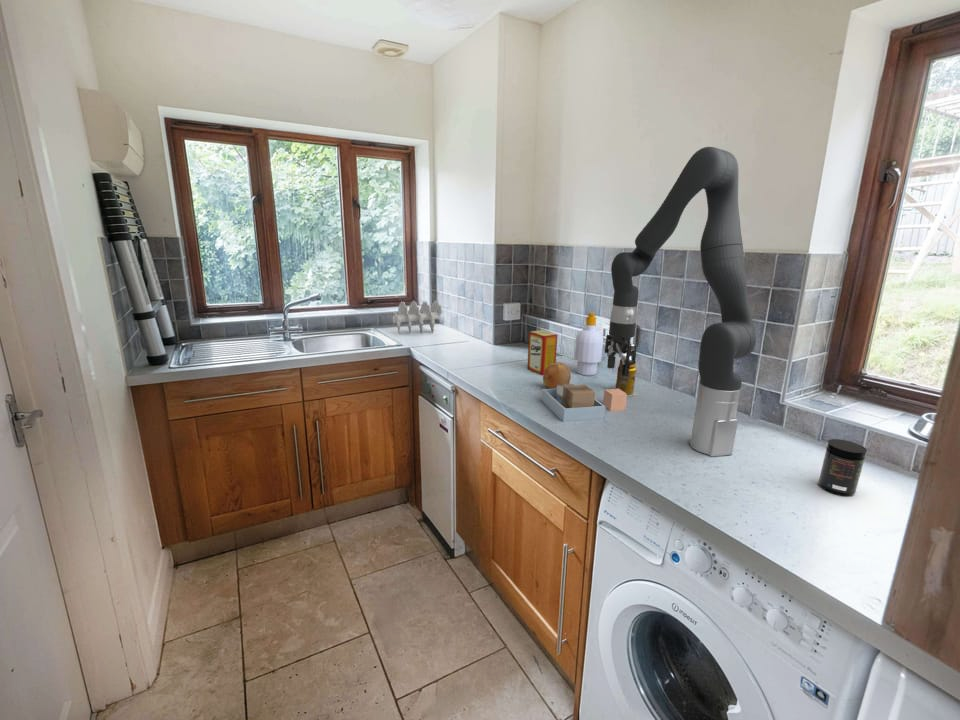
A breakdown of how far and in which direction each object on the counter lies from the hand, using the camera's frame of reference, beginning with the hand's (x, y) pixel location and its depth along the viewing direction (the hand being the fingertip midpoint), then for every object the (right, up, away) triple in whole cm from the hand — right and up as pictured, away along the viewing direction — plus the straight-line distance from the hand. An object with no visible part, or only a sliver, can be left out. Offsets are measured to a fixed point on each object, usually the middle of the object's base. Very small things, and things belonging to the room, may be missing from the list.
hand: (617, 371), depth 143 cm
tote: (-14, -12, +1) cm, 19 cm away
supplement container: (+36, -25, -41) cm, 60 cm away
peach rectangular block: (0, -12, +3) cm, 12 cm away
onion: (-16, -7, +20) cm, 27 cm away
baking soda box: (-18, -1, +43) cm, 46 cm away
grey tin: (-15, -10, +5) cm, 19 cm away
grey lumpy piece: (-77, +18, +108) cm, 134 cm away
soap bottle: (0, -2, +41) cm, 41 cm away
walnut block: (-13, -13, -3) cm, 19 cm away
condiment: (+7, -8, +19) cm, 22 cm away
